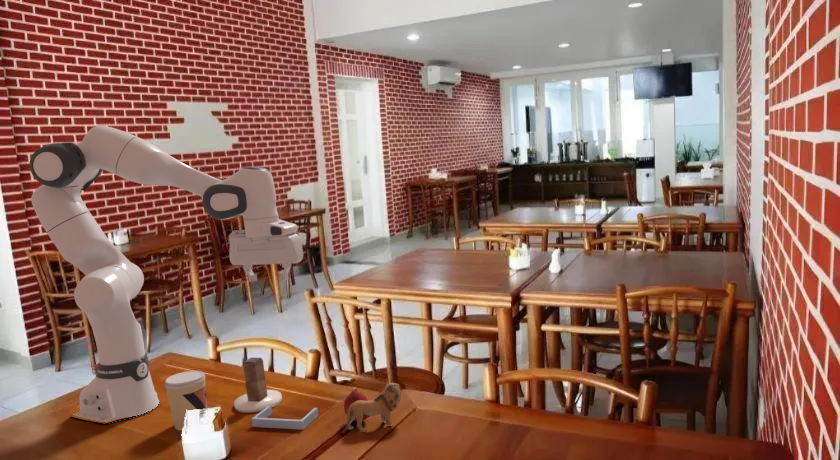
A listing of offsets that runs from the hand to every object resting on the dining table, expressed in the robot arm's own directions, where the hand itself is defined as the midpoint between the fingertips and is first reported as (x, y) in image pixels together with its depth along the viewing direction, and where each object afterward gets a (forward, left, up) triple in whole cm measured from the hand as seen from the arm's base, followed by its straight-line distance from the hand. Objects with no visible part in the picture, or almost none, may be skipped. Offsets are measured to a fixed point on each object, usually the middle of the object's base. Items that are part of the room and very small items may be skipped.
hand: (268, 280), depth 166 cm
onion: (+28, -14, -31) cm, 44 cm away
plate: (-3, -6, -31) cm, 32 cm away
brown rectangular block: (-4, -6, -30) cm, 31 cm away
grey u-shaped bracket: (+10, -15, -31) cm, 36 cm away
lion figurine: (+33, -16, -31) cm, 48 cm away
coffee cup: (-14, -20, -31) cm, 40 cm away
